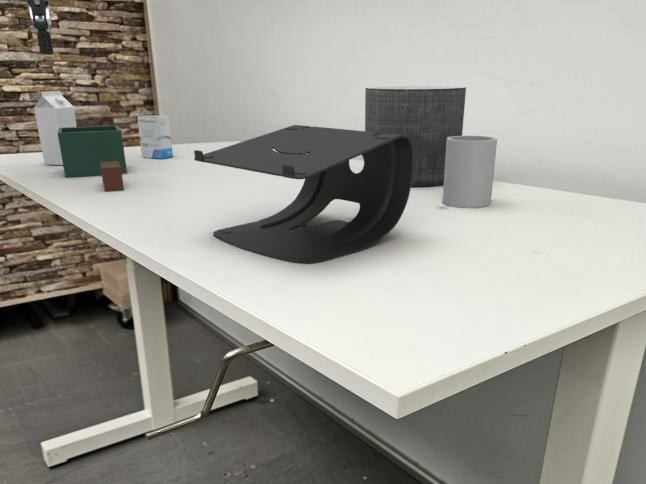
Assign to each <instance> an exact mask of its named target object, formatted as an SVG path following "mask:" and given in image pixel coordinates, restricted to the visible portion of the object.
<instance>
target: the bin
mask: <svg viewBox="0 0 646 484" xmlns="http://www.w3.org/2000/svg"><path fill="white" fill-rule="evenodd" d="M58 139H59V145H60V150H61V156H62V162H63V165H62V166H63V171H64V172H63V173H64V178H65V179H66V178H67V179H69V178H83V177H97V176H99V175H100V176H102V174H101V167H100V162H106V161H118V162H119V164H120V166H121V172H122V173H127V174H128V169H127V162H126V154H125V147H124V140H123V139H124V138H123V133H122V129H121V128H120V127H119V126H118V125H98V126H77V127H69V128H59V130H58Z"/></svg>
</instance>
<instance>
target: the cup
mask: <svg viewBox="0 0 646 484" xmlns="http://www.w3.org/2000/svg"><path fill="white" fill-rule="evenodd" d="M497 145H498V137H494V136H487V135H462V136H452V137H448V138H447V142H446V157H445V172H444V185H443V188H442V204H443V205H446V206H450V207H453V208H464V209H465V208H466V209H477V208H485V207H489V206H490V205H491V204H492V196H493V195H492V194H493V186H494V185H493V183H494V174H495V163H496V156H497V155H496V154H497Z"/></svg>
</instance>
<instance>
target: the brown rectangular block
mask: <svg viewBox="0 0 646 484" xmlns="http://www.w3.org/2000/svg"><path fill="white" fill-rule="evenodd" d="M100 167H101V174H102V175H101V179H102V186H103V190H104V192H117V191H125V188H124V187H125V186H124V180H123V174H122V172H121V166H120V164H119V162H118V161H106V162H100Z"/></svg>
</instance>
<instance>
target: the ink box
mask: <svg viewBox="0 0 646 484" xmlns="http://www.w3.org/2000/svg"><path fill="white" fill-rule="evenodd" d="M136 118H137V127H138V133H139V142H140V151H141V152H140V153H141V158H144V157H147V158H146V159H156V158H157V159H158V160H164V159H169V158H174V155H173V153H174V152H173V144H172V135H171V134H172V133H171V124H170V116H168V115H138V116H137V117H136ZM157 159H156V160H157Z"/></svg>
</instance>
